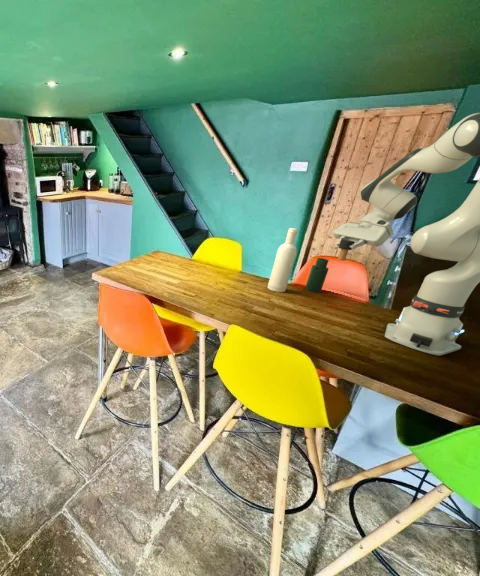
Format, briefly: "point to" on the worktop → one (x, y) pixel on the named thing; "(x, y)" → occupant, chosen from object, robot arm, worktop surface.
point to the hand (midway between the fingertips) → (344, 246)
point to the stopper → (344, 248)
